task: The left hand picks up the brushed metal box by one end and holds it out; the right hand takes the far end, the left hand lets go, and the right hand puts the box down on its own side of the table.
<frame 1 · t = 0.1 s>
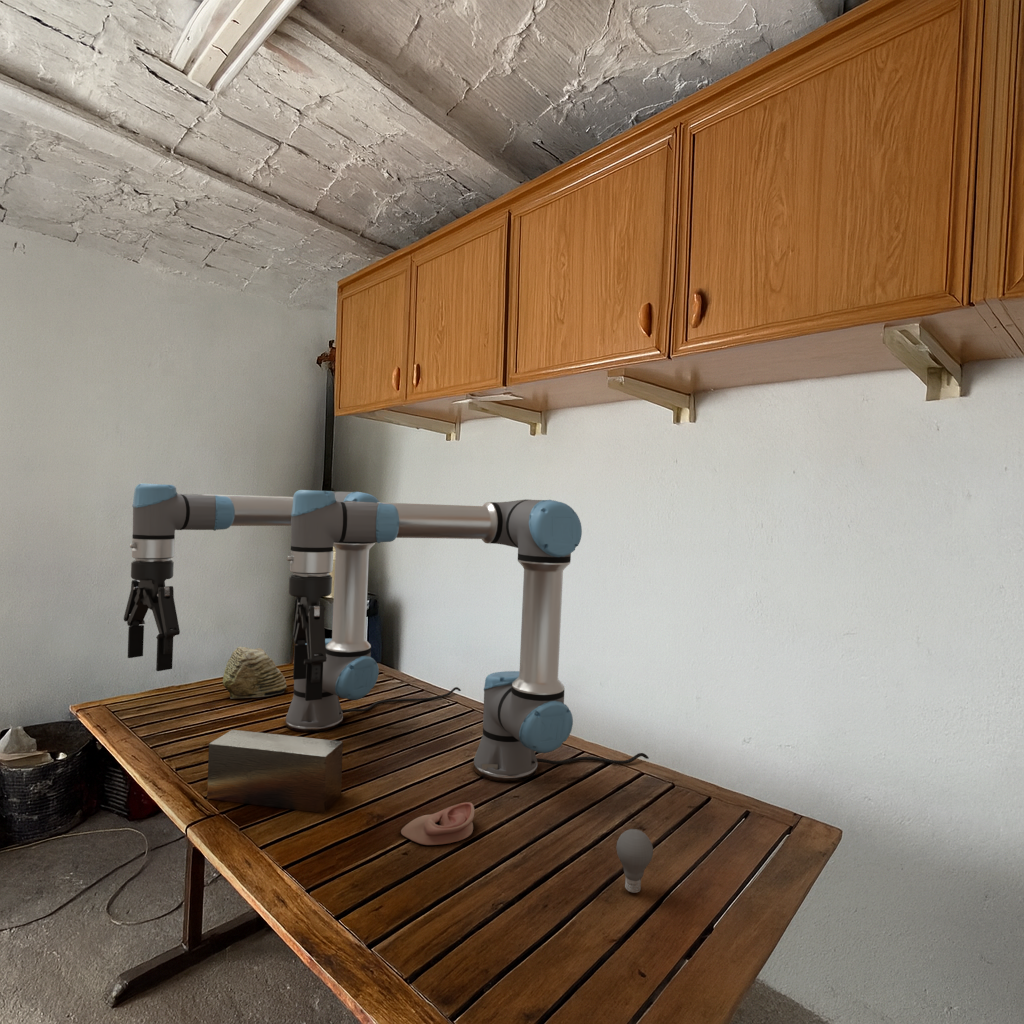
left hand: (149, 663, 129), 28 cm above the table, tool pointing down, fingers open, 13 cm apart
right hand: (306, 688, 117), 28 cm above the table, tool pointing down, fingers open, 13 cm apart
anatomical model: (438, 831, 122), on the table
light bulb: (632, 891, 106), on the table
fossil: (254, 694, 198), on the table
box: (275, 796, 133), on the table
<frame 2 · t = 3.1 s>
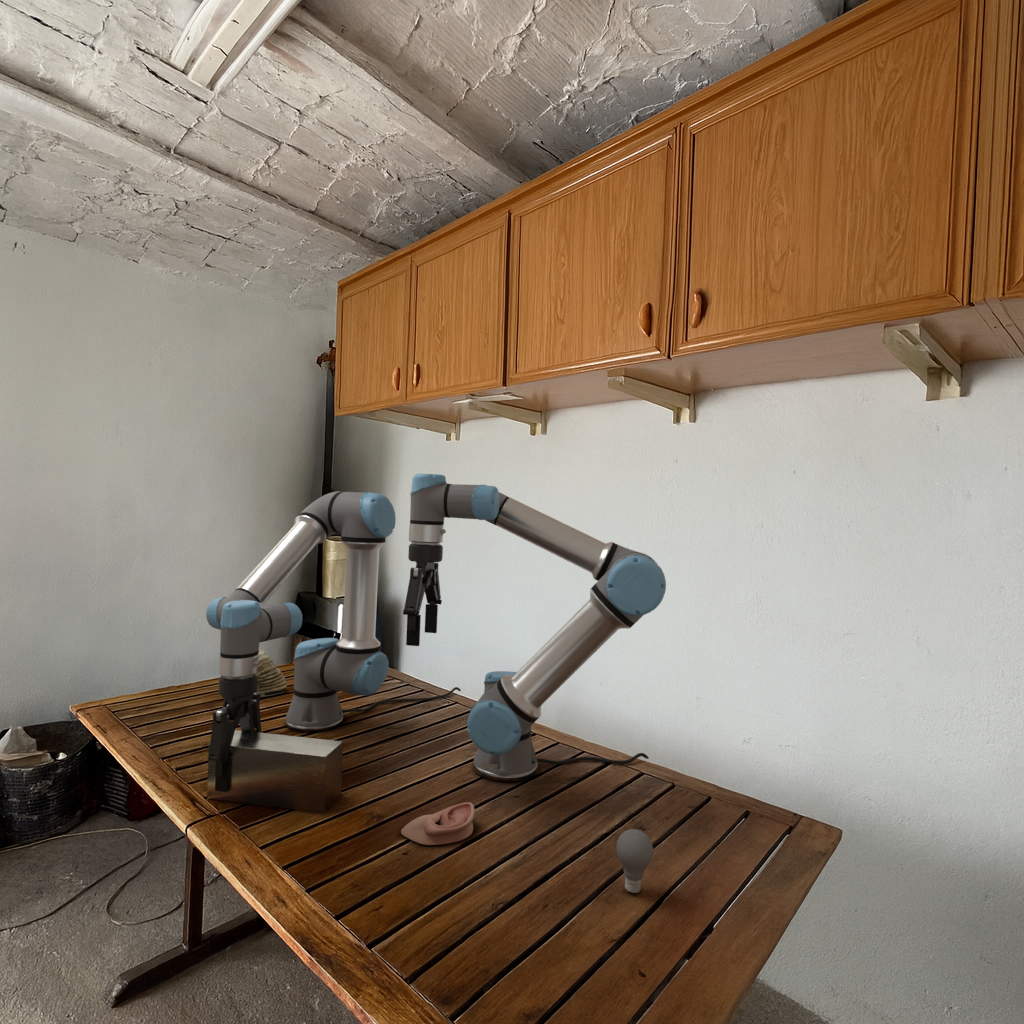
left hand: (234, 780, 134), 2 cm above the table, tool pointing down, fingers closed on box, 8 cm apart
right hand: (422, 638, 141), 33 cm above the table, tool pointing down, fingers open, 13 cm apart
box: (275, 796, 133), on the table, touching left hand
everything else where it was.
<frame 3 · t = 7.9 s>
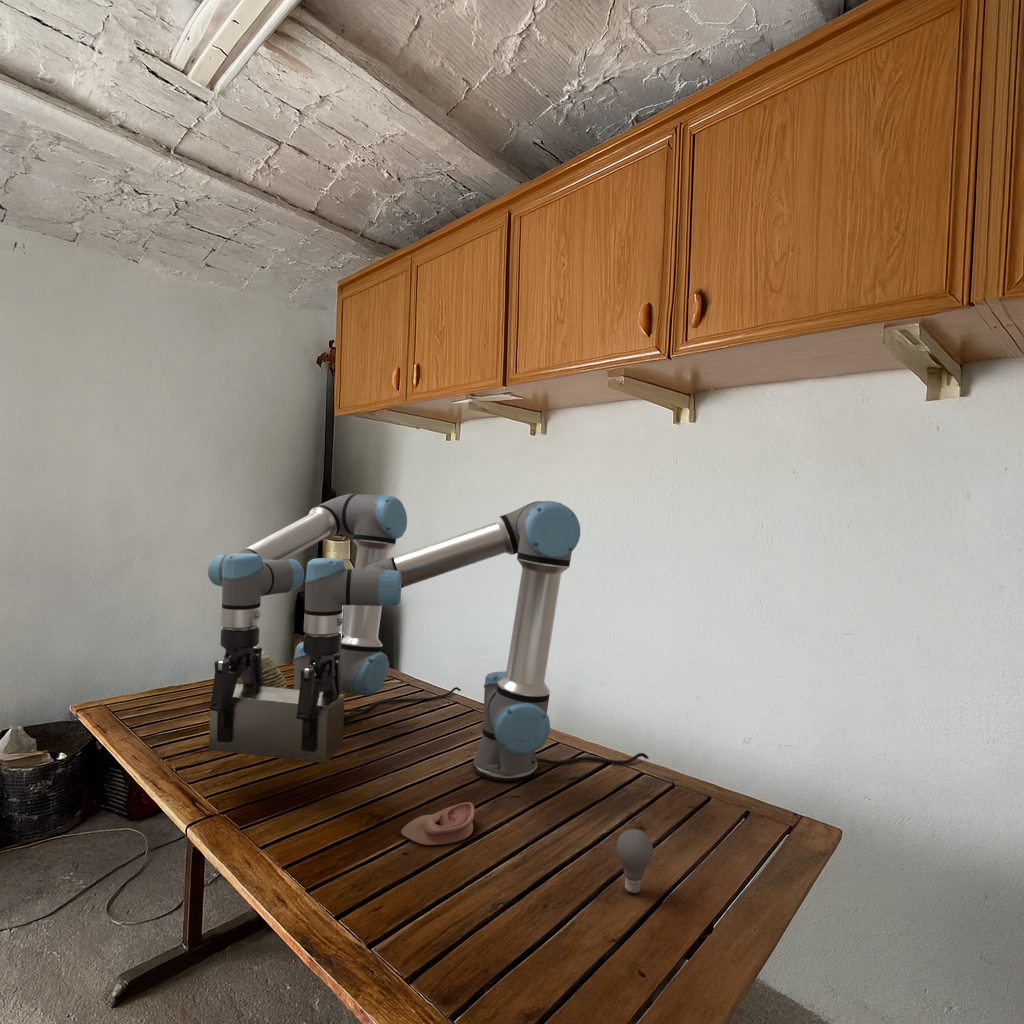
left hand: (236, 733, 134), 12 cm above the table, tool pointing down, fingers closed on box, 8 cm apart
right hand: (318, 742, 131), 13 cm above the table, tool pointing down, fingers closed on box, 8 cm apart
box: (276, 749, 133), point 10 cm above the table, touching left hand, right hand
everything else where it was.
when the left hand's fingers open (12 cm above the table, at t = 8.9 s): box stays where it is, held by the right hand.
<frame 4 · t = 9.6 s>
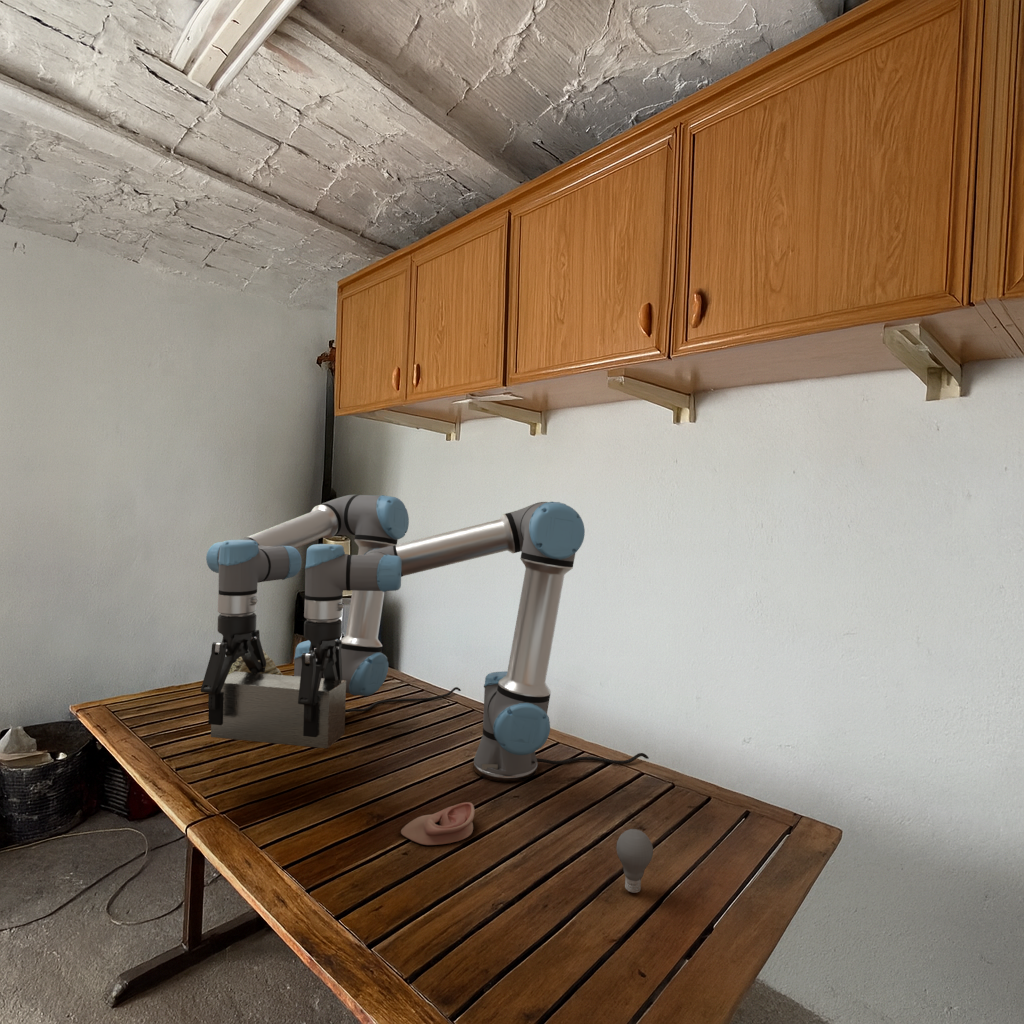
left hand: (235, 712, 134), 17 cm above the table, tool pointing down, fingers open, 13 cm apart
right hand: (320, 727, 131), 15 cm above the table, tool pointing down, fingers closed on box, 8 cm apart
box: (278, 735, 133), point 13 cm above the table, touching right hand
everything else where it was.
when the right hand's fingers open (4 cm above the table, at t = 16.9 s): box drops 2 cm, on the table.
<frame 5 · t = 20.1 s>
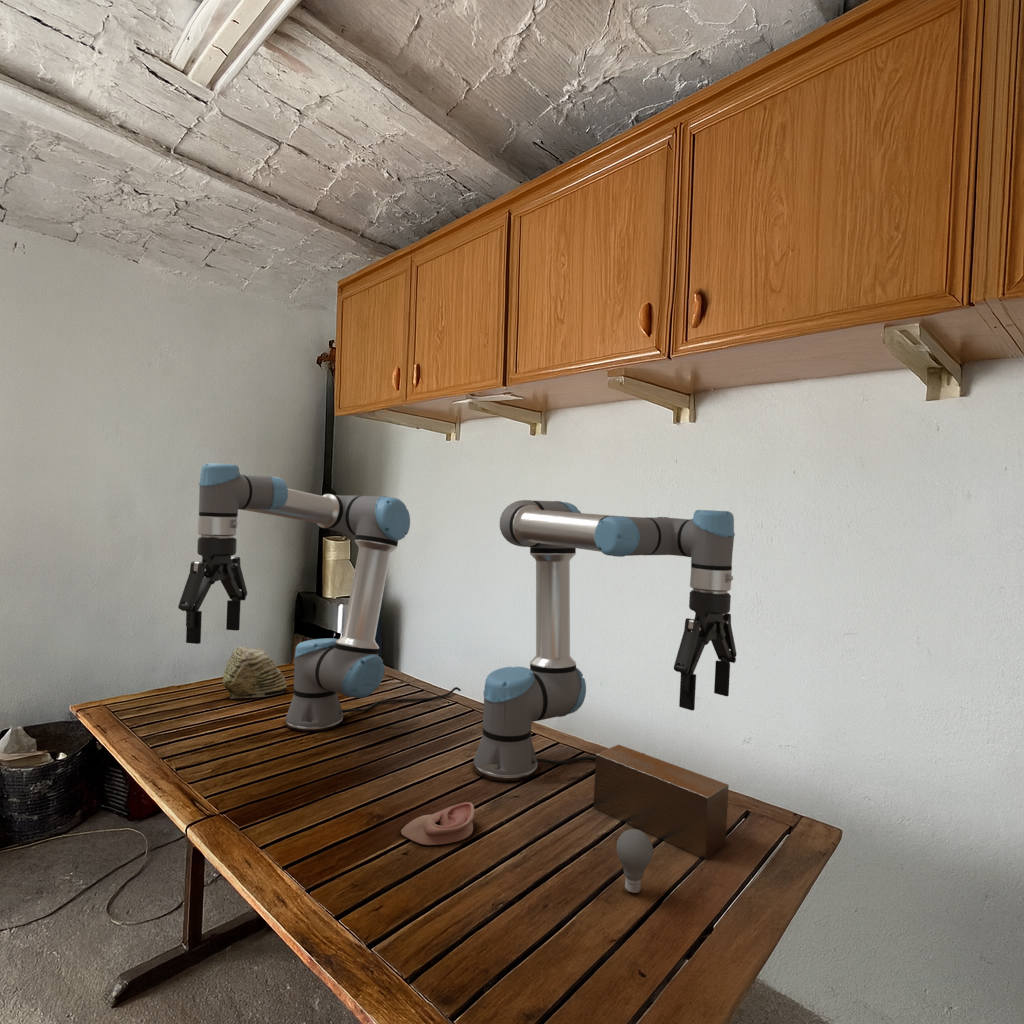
left hand: (214, 636, 135), 33 cm above the table, tool pointing down, fingers open, 13 cm apart
right hand: (704, 701, 121), 28 cm above the table, tool pointing down, fingers open, 13 cm apart
box: (656, 824, 128), on the table
everything else where it was.
at the end: box inside the target area (9.0 cm from its centre), on the table; the left hand is holding nothing; the right hand is holding nothing; box at rest at the end (0.0 cm/s) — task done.
